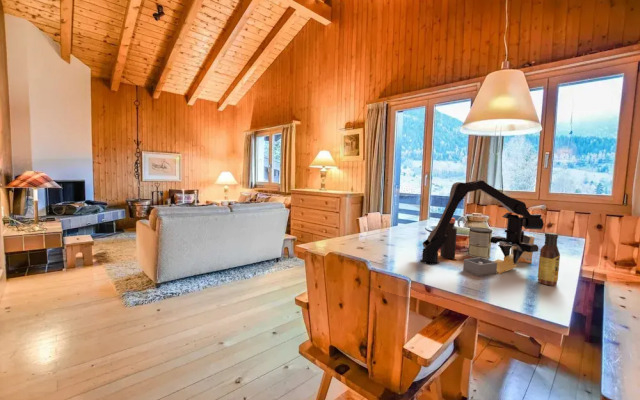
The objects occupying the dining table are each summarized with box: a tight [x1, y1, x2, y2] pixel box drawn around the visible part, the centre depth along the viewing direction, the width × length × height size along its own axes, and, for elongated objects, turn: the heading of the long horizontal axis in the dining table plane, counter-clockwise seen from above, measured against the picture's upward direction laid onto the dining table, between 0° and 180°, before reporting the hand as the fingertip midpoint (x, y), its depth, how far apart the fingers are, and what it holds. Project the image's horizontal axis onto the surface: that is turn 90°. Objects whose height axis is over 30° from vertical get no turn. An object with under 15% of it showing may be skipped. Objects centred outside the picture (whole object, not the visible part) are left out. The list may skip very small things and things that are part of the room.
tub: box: [462, 257, 497, 278], centre depth 127 cm, size 10×8×5 cm
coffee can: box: [467, 226, 493, 260], centre depth 153 cm, size 10×10×14 cm
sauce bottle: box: [537, 232, 561, 287], centre depth 116 cm, size 7×6×20 cm
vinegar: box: [440, 217, 458, 260], centre depth 148 cm, size 7×7×20 cm
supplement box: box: [510, 234, 535, 264], centre depth 145 cm, size 8×5×13 cm, turn 68°
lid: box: [493, 253, 519, 275], centre depth 132 cm, size 16×8×3 cm, turn 111°
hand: (511, 262), depth 135 cm, fingers closed on lid, 3 cm apart
